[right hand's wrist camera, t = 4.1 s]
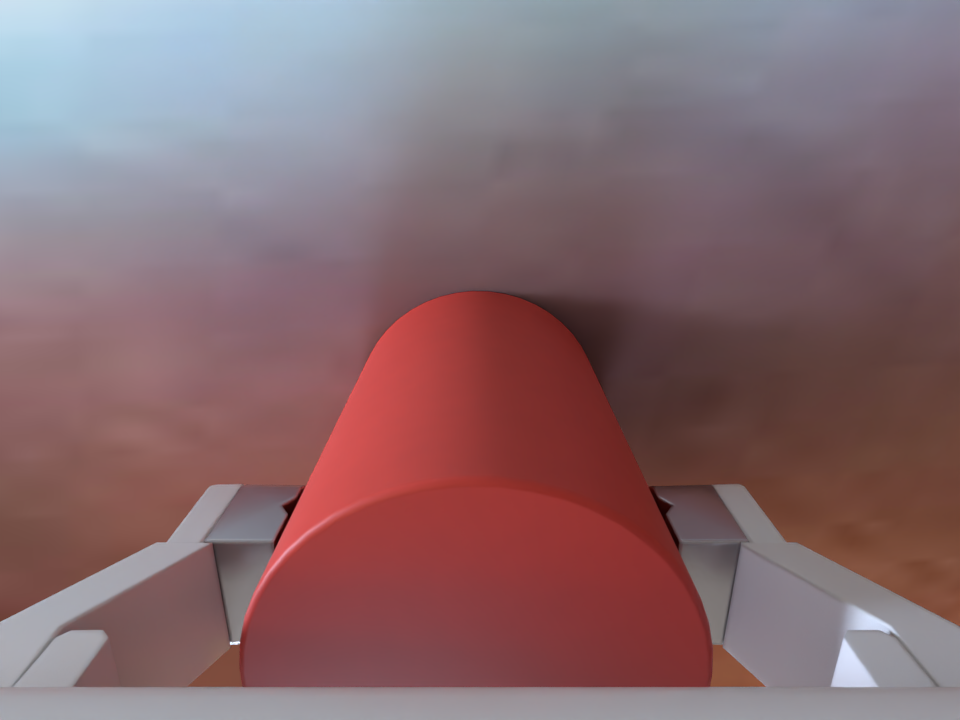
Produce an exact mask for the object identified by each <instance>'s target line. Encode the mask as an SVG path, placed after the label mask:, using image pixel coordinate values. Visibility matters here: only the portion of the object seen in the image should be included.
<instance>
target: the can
mask: <svg viewBox="0 0 960 720" xmlns="http://www.w3.org/2000/svg"><path fill="white" fill-rule="evenodd" d="M712 662H713V645H712V638H711V632H710V625H709V621H708V618H707V615H706V612H705V609H704V606H703V603H702V600H701V598H700V596H699V593H698V591H697V589H696V587H695V585H694V583H693V581H692V579H691V576H690V574H689V572H688V570H687V568H686V566H685V564H684V562H683V559H682V557H681V555H680V553H679V551H678V549H677V547H676V545H675V543H674V540H673V538H672V536H671V534H670V532H669V530H668V528H667V526H666V523H665V521H664V519H663V517H662V515H661V513H660V511H659V509H658V506H657V504H656V502H655V500H654V498H653V496H652V494H651V492H650V489H649V487H648V485H647V483H646V481H645V479H644V477H643V475H642V473H641V470H640V468H639V466H638V464H637V462H636V460H635V458H634V456H633V453H632V451H631V449H630V447H629V445H628V443H627V441H626V439H625V436H624V434H623V432H622V430H621V428H620V426H619V424H618V422H617V419H616V417H615V415H614V413H613V411H612V409H611V407H610V405H609V403H608V400H607V398H606V396H605V394H604V392H603V390H602V388H601V386H600V383H599V381H598V379H597V377H596V375H595V373H594V371H593V369H592V366H591V364H590V362H589V360H588V358H587V356H586V354H585V352H584V350H583V349H582V347H581V345H580V344H579V342H578V341H577V340H576V338H575V337H574V335H573V334H572V333H571V332H570V331H569V330H568V329H567V328H566V327H565V326H564V325H563V324H562V322H560V321H559V320H558V319H556V318H555V317H554V316H553V315H551V314H550V313H549V312H547V311H545V310H544V309H542V308H540V307H539V306H537V305H535V304H533V303H531V302H528V301H526V300H524V299H521V298H518V297H514V296H511V295H507V294H503V293H496V292H489V291H469V292H460V293H453V294H449V295H445V296H441V297H438V298H435V299H433V300H430V301H428V302H425V303H423V304H421V305H419V306H418V307H416V308H414V309H412V310H410V311H409V312H408V313H406V314H405V315H403V316H402V317H401V318H399V319H398V320H397V321H396V322H395V323H394V324H393V325H392V326H391V327H390V328H389V329H388V330H387V331H386V332H385V333H384V334H383V336H382V337H381V338H380V340H379V341H378V342H377V344H376V346H375V347H374V349H373V351H372V352H371V354H370V356H369V358H368V360H367V362H366V364H365V366H364V368H363V370H362V372H361V374H360V376H359V379H358V381H357V383H356V385H355V387H354V389H353V391H352V393H351V395H350V397H349V399H348V401H347V403H346V405H345V407H344V409H343V411H342V413H341V415H340V417H339V419H338V421H337V424H336V426H335V428H334V430H333V432H332V434H331V436H330V438H329V440H328V442H327V444H326V446H325V448H324V450H323V452H322V454H321V456H320V458H319V460H318V462H317V464H316V466H315V468H314V471H313V473H312V475H311V477H310V479H309V481H308V483H307V485H306V487H305V489H304V491H303V493H302V495H301V497H300V499H299V501H298V503H297V505H296V507H295V509H294V511H293V513H292V515H291V518H290V520H289V522H288V524H287V526H286V528H285V530H284V532H283V534H282V536H281V538H280V540H279V542H278V544H277V546H276V548H275V550H274V552H273V554H272V556H271V558H270V560H269V562H268V565H267V567H266V569H265V571H264V573H263V575H262V577H261V579H260V581H259V583H258V585H257V587H256V589H255V591H254V593H253V596H252V599H251V601H250V604H249V606H248V609H247V612H246V614H245V617H244V623H243V628H242V633H241V638H240V674H241V680H242V687H710V683H711V678H712Z"/></svg>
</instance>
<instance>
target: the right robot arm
mask: <svg viewBox="0 0 960 720" xmlns="http://www.w3.org/2000/svg"><path fill="white" fill-rule="evenodd" d="M305 487H306V486H299V485H248V484H247V485H243V484H216V485H213V486H210V487H209V488H208V489H207V490H206V492H205V493H204V494H203V496H202V497H201V498H200V499H199V501H198V502H197V503H196V505H195V506H194V507H193V509H192V510H191V511H190V512H189V514H188V515H187V516H186V518H185V519H184V520H183V522H182V523H181V524H180V526H179V527H178V528H177V529H176V531H175V532H174V533H173V535H172V536H171V537H170V539H169V540H168V541H167V542H166V543H155V544H153V545H151V546H149V547H147V548H145V549H143V550H141V551H139V552H137V553H135V554H133V555H131V556H129V557H127V558H125V559H123V560H121V561H119V562H117V563H115V564H114V565H112V566H110V567H108V568H106V569H104V570H102V571H100V572H98V573H96V574H94V575H92V576H90V577H88V578H86V579H84V580H82V581H80V582H78V583H76V584H74V585H72V586H70V587H68V588H66V589H64V590H62V591H60V592H58V593H56V594H54V595H53V596H51V597H49V598H47V599H45V600H43V601H41V602H39V603H37V604H35V605H33V606H31V607H29V608H27V609H25V610H23V611H21V612H19V613H17V614H15V615H13V616H11V617H9V618H7V619H5V620H3V621H1V622H0V720H960V626H958V625H956V624H954V623H952V622H950V621H948V620H946V619H944V618H942V617H940V616H938V615H936V614H934V613H932V612H930V611H928V610H926V609H925V608H923V607H921V606H919V605H917V604H915V603H913V602H911V601H909V600H907V599H905V598H903V597H901V596H899V595H897V594H895V593H893V592H892V591H890V590H888V589H886V588H884V587H882V586H880V585H878V584H876V583H874V582H872V581H870V580H868V579H866V578H864V577H862V576H860V575H859V574H857V573H855V572H853V571H851V570H849V569H847V568H845V567H843V566H841V565H839V564H837V563H835V562H833V561H831V560H829V559H827V558H826V557H824V556H822V555H820V554H818V553H816V552H814V551H812V550H810V549H808V548H806V547H804V546H802V545H800V544H798V543H787V542H786V541H785V540H784V538H783V537H782V536H781V534H780V533H779V532H778V530H777V529H776V528H775V526H774V525H773V524H772V522H771V521H770V520H769V518H768V517H767V516H766V514H765V513H764V512H763V510H762V509H761V508H760V507H759V505H758V504H757V503H756V501H755V500H754V499H753V497H752V496H751V495H750V493H749V492H748V491H747V489H746V488H745V487H744V486H742V485H740V484H720V485H687V486H651V487H649V489H650V492H651V494H652V496H653V498H654V500H655V502H656V504H657V506H658V509H659V511H660V513H661V515H662V517H663V519H664V521H665V523H666V526H667V528H668V530H669V532H670V534H671V536H672V538H673V540H674V543H675V545H676V547H677V549H678V551H679V553H680V555H681V557H682V559H683V562H684V564H685V566H686V568H687V570H688V572H689V574H690V576H691V579H692V581H693V583H694V585H695V587H696V589H697V591H698V593H699V596H700V598H701V600H702V603H703V606H704V609H705V612H706V615H707V618H708V621H709V625H710V632H711V638H712V644H719V645H723V648H724V649H725V650H726V651H728V652H729V653H730V654H731V655H732V656H733V657H734V658H735V659H736V660H737V661H739V662H740V663H741V664H742V665H743V666H744V667H745V668H746V669H747V670H749V671H750V672H751V673H752V674H753V675H754V676H755V677H756V678H757V679H758V680H760V681H761V682H762V683H763V684H764V685H765V686H766V687H187V686H188V685H189V684H191V683H192V682H193V681H194V680H195V679H196V678H197V677H198V676H200V675H201V674H202V673H203V672H204V671H205V670H206V669H207V668H209V667H210V666H211V665H212V664H213V663H214V662H215V661H216V660H217V659H219V658H220V657H221V656H222V655H223V654H224V653H225V652H226V651H228V650H229V649H230V648H231V646H230V645H234V644H240V638H241V633H242V628H243V623H244V617H245V614H246V612H247V609H248V606H249V604H250V601H251V599H252V596H253V593H254V591H255V589H256V587H257V585H258V583H259V581H260V579H261V577H262V575H263V573H264V571H265V569H266V567H267V565H268V562H269V560H270V558H271V556H272V554H273V552H274V550H275V548H276V546H277V544H278V542H279V540H280V538H281V536H282V534H283V532H284V530H285V528H286V526H287V524H288V522H289V520H290V518H291V515H292V513H293V511H294V509H295V507H296V505H297V503H298V501H299V499H300V497H301V495H302V493H303V491H304V489H305Z"/></svg>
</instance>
